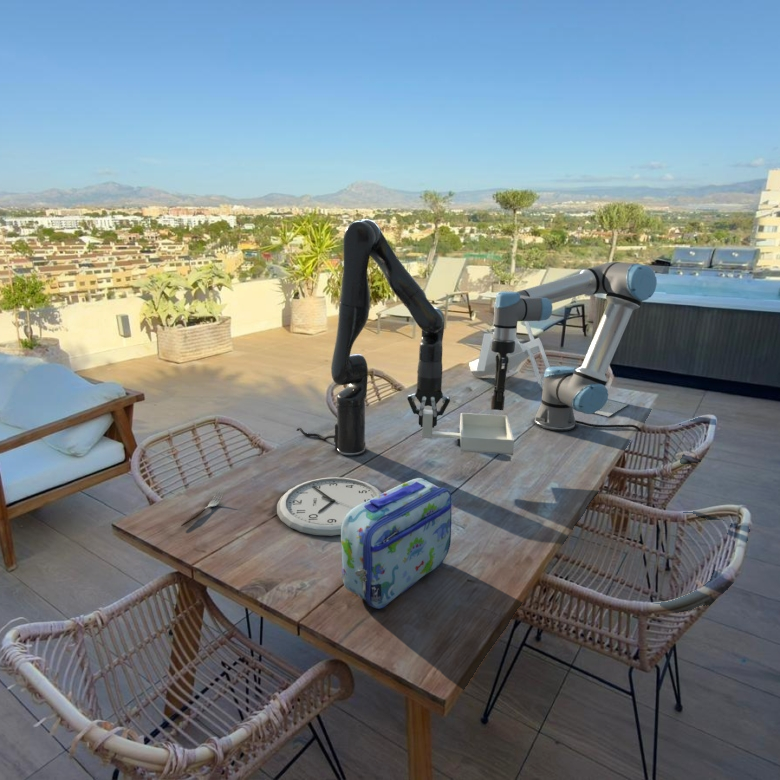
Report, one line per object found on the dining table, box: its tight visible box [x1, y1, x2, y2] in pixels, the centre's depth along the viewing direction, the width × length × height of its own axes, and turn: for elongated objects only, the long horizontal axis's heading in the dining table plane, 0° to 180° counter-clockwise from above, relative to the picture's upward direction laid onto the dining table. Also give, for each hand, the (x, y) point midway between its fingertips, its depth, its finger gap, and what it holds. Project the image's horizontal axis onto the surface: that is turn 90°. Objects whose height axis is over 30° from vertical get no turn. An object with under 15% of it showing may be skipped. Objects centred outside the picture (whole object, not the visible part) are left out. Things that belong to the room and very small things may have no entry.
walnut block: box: [490, 391, 506, 411], centre depth 177 cm, size 4×4×5 cm
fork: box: [180, 491, 225, 527], centre depth 138 cm, size 3×16×2 cm, turn 160°
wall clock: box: [276, 476, 383, 537], centre depth 143 cm, size 30×2×30 cm
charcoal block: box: [456, 427, 460, 446], centre depth 185 cm, size 4×4×5 cm
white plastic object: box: [468, 321, 551, 390], centre depth 259 cm, size 37×45×31 cm
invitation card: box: [594, 399, 628, 418], centre depth 226 cm, size 21×1×15 cm
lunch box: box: [340, 477, 452, 610], centre depth 110 cm, size 26×11×21 cm, turn 134°
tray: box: [421, 409, 515, 456], centre depth 163 cm, size 27×21×8 cm
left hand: (427, 426), depth 165 cm, fingers closed on tray, 3 cm apart
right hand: (497, 407), depth 178 cm, fingers closed on walnut block, 4 cm apart
